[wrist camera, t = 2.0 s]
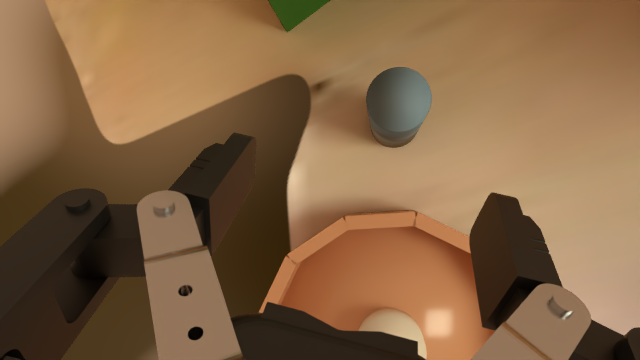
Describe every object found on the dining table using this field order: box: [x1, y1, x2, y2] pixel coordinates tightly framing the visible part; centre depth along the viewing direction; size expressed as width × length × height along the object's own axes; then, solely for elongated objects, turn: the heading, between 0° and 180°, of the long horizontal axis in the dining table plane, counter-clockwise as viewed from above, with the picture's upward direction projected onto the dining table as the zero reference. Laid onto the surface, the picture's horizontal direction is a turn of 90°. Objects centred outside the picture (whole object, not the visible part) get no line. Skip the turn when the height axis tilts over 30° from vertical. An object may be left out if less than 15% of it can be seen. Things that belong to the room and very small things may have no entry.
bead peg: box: [366, 67, 432, 148], centre depth 32 cm, size 4×4×10 cm
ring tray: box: [259, 210, 495, 360], centre depth 34 cm, size 23×23×4 cm
